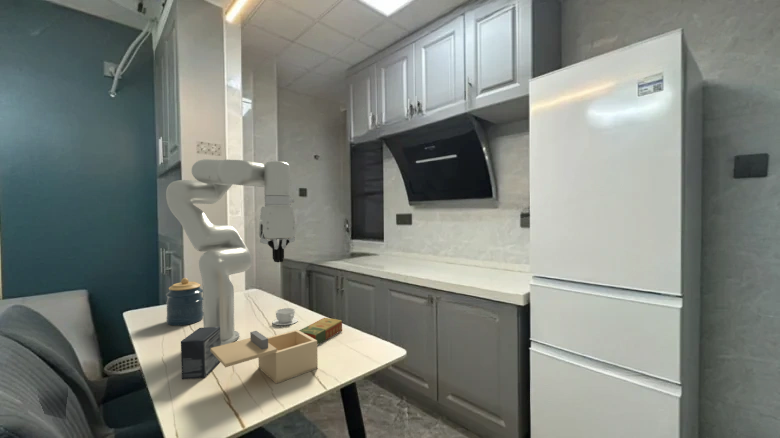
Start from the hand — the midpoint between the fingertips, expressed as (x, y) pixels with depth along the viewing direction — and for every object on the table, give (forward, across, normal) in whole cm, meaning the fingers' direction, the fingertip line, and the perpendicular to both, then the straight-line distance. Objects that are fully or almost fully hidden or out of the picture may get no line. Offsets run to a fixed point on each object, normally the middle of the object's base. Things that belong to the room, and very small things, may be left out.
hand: (278, 261), depth 102 cm
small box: (+29, +20, -6) cm, 36 cm away
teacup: (+30, -15, -28) cm, 44 cm away
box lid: (+21, +14, +10) cm, 27 cm away
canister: (+29, +14, -58) cm, 66 cm away
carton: (+30, -18, -5) cm, 35 cm away
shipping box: (+29, +2, +10) cm, 31 cm away
